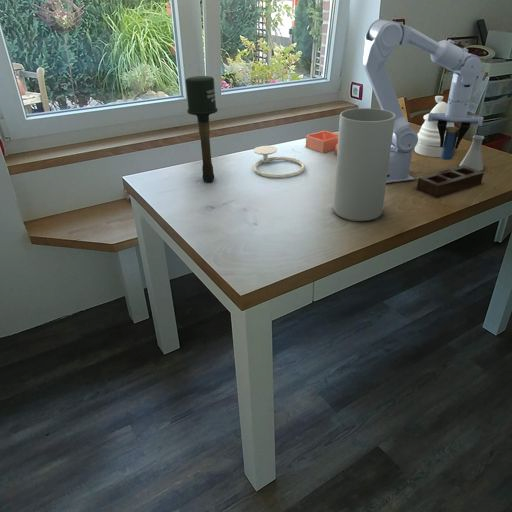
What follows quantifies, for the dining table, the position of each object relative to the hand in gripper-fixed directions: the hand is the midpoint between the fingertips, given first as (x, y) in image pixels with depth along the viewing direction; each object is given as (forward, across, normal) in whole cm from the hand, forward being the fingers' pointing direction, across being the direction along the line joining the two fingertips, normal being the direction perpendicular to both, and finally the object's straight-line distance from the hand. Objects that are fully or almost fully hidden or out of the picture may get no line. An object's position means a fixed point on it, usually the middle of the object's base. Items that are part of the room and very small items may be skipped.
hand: (449, 147), depth 131 cm
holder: (+9, -2, +9) cm, 13 cm away
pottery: (+9, +39, -11) cm, 41 cm away
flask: (+9, -8, -8) cm, 14 cm away
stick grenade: (+9, +66, +31) cm, 73 cm away
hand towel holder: (+9, +51, +13) cm, 53 cm away
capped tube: (+3, 0, 0) cm, 3 cm away
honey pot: (+9, +5, -22) cm, 24 cm away
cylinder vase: (+9, +18, +35) cm, 41 cm away
